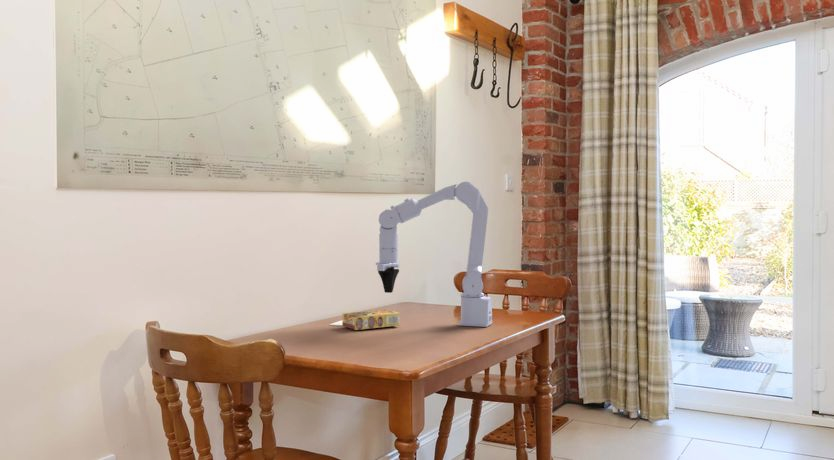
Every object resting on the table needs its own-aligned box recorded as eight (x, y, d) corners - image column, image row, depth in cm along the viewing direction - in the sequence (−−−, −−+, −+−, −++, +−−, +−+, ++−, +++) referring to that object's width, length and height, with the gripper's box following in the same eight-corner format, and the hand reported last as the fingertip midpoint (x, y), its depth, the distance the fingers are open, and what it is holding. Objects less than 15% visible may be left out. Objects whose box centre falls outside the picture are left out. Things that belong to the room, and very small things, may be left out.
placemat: (390, 320, 250) (390, 319, 250) (371, 327, 234) (371, 326, 234) (349, 318, 254) (349, 317, 254) (329, 325, 239) (329, 324, 239)
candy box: (400, 312, 235) (354, 316, 227) (400, 326, 235) (354, 330, 227) (386, 309, 242) (341, 312, 235) (386, 322, 243) (341, 326, 235)
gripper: (384, 247, 249) (384, 289, 249) (367, 249, 235) (367, 294, 235) (405, 247, 246) (405, 290, 247) (389, 250, 233) (389, 295, 233)
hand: (388, 292), depth 241 cm, fingers closed
